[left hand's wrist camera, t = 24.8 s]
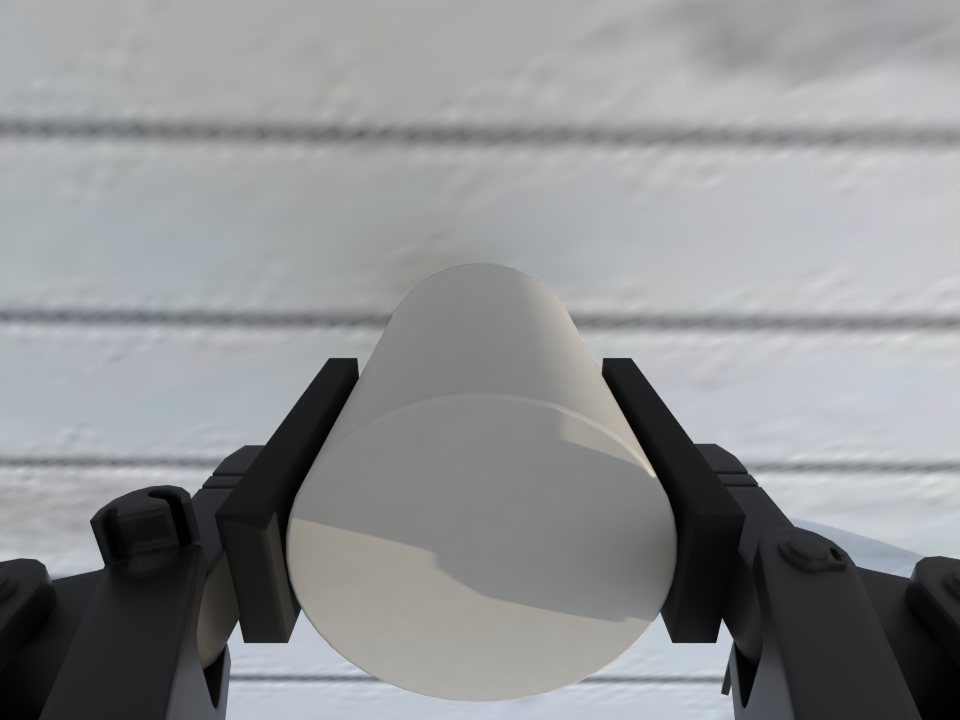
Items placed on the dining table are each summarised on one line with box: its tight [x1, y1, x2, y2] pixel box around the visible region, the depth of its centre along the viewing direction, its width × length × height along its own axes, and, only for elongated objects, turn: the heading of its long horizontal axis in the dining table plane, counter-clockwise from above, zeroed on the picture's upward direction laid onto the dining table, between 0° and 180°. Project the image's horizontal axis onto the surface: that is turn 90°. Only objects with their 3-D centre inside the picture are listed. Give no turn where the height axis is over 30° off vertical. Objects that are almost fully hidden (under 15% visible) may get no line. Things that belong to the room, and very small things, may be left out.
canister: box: [286, 264, 677, 702], centre depth 13 cm, size 7×7×10 cm
